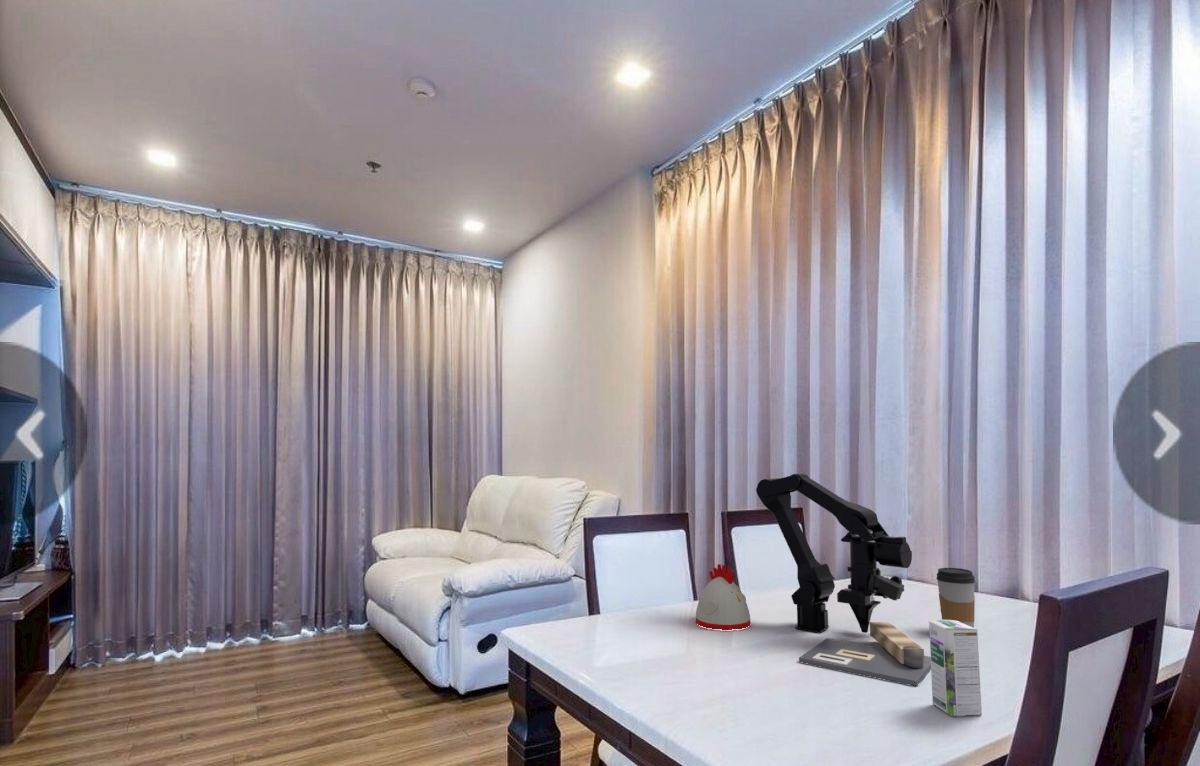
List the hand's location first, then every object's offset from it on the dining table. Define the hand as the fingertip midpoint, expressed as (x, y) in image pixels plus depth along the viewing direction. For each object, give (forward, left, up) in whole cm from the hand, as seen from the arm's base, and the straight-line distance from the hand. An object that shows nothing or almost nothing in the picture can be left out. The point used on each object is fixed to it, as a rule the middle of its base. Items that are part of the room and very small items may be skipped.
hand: (864, 632), depth 151 cm
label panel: (+5, -14, -2) cm, 15 cm away
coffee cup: (+16, +20, -3) cm, 26 cm away
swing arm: (+9, -6, -1) cm, 11 cm away
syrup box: (+24, -30, -3) cm, 38 cm away
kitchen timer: (-34, -5, -3) cm, 34 cm away
